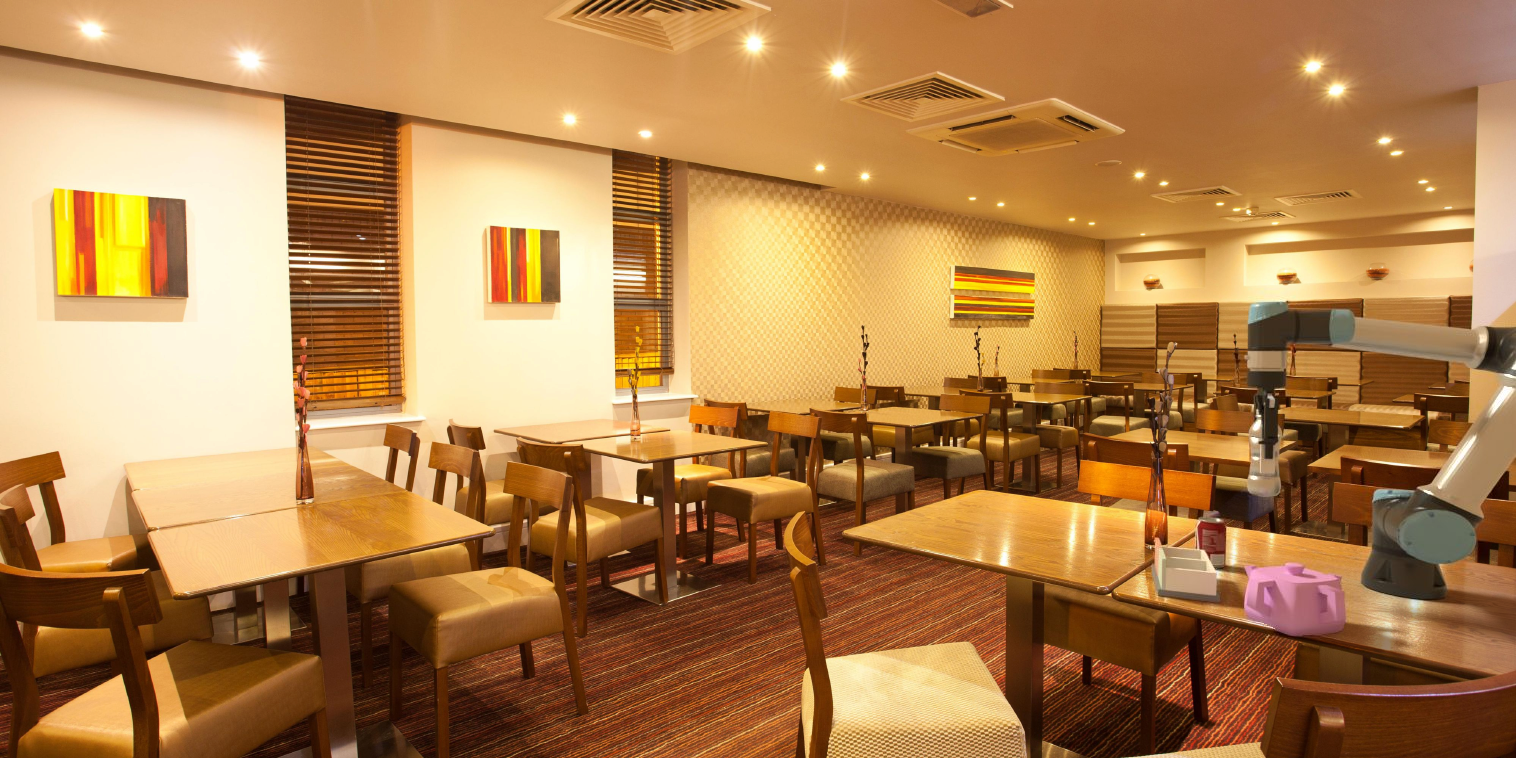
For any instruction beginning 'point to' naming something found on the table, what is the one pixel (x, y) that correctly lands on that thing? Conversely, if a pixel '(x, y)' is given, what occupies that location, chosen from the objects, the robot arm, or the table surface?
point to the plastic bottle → (1259, 481)
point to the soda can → (1212, 540)
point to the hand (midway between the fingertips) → (1264, 470)
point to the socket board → (1184, 574)
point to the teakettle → (1295, 599)
